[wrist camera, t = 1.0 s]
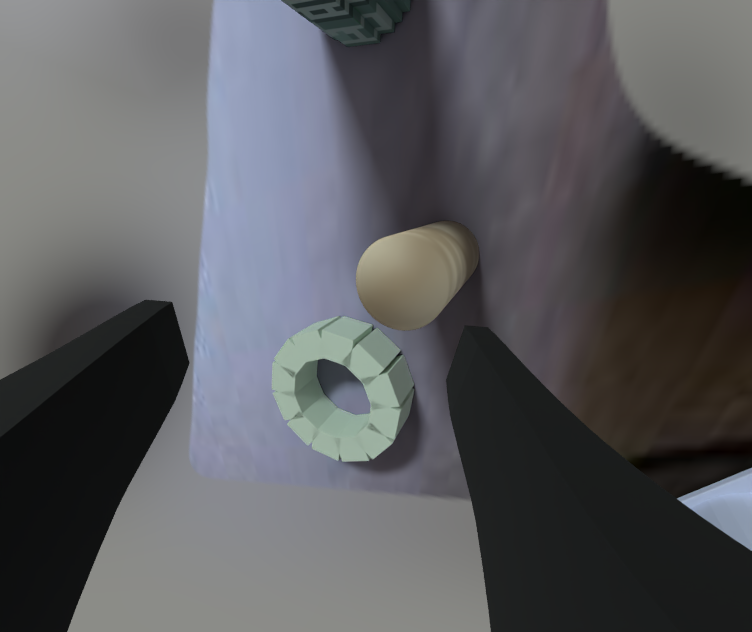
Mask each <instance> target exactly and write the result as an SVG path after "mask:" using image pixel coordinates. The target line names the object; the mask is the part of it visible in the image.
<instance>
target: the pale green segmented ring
mask: <svg viewBox="0 0 752 632" xmlns="http://www.w3.org/2000/svg"><path fill="white" fill-rule="evenodd" d="M372 326H373V325H371V324H368V323H365V322H362V321H358V320H355V319H352V318H349V317H345V316H343V317H342V318H340V316H338V317H334V318H331V319H327V320H323V321H320V322H316V323H314V324H312V325H311V326H309V327H307V328H305V329H304V330H302V331H300V332H298V333H297V334H295V335H293V336H292V337H290V338H289V339H288V340H287V341H286V342H285V344H284V345H283V347H282V348H281V349H280V351H279V352H278V354H277V355H276V356H275V358H274V359H275V360H276V361H274V362H273V368H272V389H273V390H275V392H274V393H273V395H274V397H275V400H276V402H277V404H278V407H279V409H280V411H281V414H282V416H283V418H284V420H290V419H291V420H290V421H289V422H288V424H287V425H288V426H289V427H290V428H291V429H292V430H293V431H294V432H295V433H296V434H297V435H298V436H299V437H300V438H301V439H302V440H303V441H304V442H305V443H306V444H307V445H309V444H310V443H311V442H312V449H314V450H316V451H318V452H320V453H322V454H325V455H327V456H329V457H331V458H333V459H335V460H338V461H339V459H340V458H341V459H342V462H350V461H369V460H370V459H371V458H372V459H374V458H375V457H377V456H378V455H379V454H380V453H381V452H383V451H384V450H385V449H386V448H388V447H389V446H390V445H391V444H392V443H393V442H394V440H395V438H396V437H397V435H398V433H399V432H400V430H401V428H402V427H403V425H404V423H405V421H406V420H407V418H408V416H409V414H410V409H411V404H412V399H413V395H414V390H415V389H413V388H412V387H413V386H414V382H413V380H412V377H411V374H410V371H409V368H408V365H407V363H406V360H405V357H404V355H400V356H396V355H397V354H398V353H399V352H400V351H401V350H400V349H399V348H398V347H397V346H396V345H395V344H394V343H393V342H392V341H391V340H390V339H388V338H387V337H386V336H385V335H384V334H383V333H382V332H381V331H380V330H379V329H378V328H376V329H375V330H373V331H372ZM323 358H325V359H328V360H330V361H333V362H336V363H339V364H341V365H344V366H346V367H347V368H348V369H349V370H350V371H351V372H352V373H353V374H354V375H355V376H356V377H357V378H358V379H359V380H360V381H361V382H362V383H363V385H364V388H365V391H366V393H367V396H368V398H369V401H370V404H371V409H370V414H361V415H354V414H352V413H349V412H347V411H344V410H342V409H339V408H337V407H336V406H335V405H334V404H333V403H332V402H331V401H330V400H329V398H328V397H327V396H326V395H325V394H324V393H323V390H322V388H321V386H320V383H319V381H318V378H317V365H318V359H323Z"/></svg>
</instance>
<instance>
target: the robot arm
mask: <svg viewBox="0 0 752 632" xmlns="http://www.w3.org/2000/svg"><path fill="white" fill-rule="evenodd" d="M188 366H189V360H188V356H187V353H186V349H185V346H184V342H183V339H182V335H181V331H180V328H179V324H178V321H177V317H176V314H175V310H174V307H173V303H172V302H165V301H154V300H144V301H142V302H140V303H138V304H136V305H134V306H132V307H130V308H129V309H127V310H125V311H123V312H122V313H120V314H118V315H116V316H114V317H113V318H111V319H109V320H107V321H106V322H104V323H102V324H100V325H99V326H97V327H95V328H94V329H92V330H90V331H88V332H87V333H85V334H83V335H81V336H80V337H78V338H76V339H74V340H72V341H71V342H69V343H67V344H65V345H64V346H62V347H60V348H59V349H57V350H55V351H53V352H51V353H50V354H48V355H46V356H44V357H42V358H40V359H38V360H37V361H35V362H33V363H31V364H29V365H27V366H25V367H24V368H22V369H20V370H18V371H16V372H14V373H12V374H10V375H8V376H7V377H5V378H3V379H1V380H0V632H67V631H68V628H69V625H70V622H71V620H72V617H73V614H74V612H75V609H76V606H77V604H78V601H79V599H80V596H81V594H82V591H83V589H84V586H85V584H86V581H87V579H88V576H89V574H90V571H91V569H92V566H93V564H94V561H95V559H96V556H97V554H98V552H99V549H100V547H101V544H102V542H103V540H104V538H105V535H106V533H107V531H108V528H109V526H110V524H111V521H112V519H113V517H114V514H115V512H116V510H117V508H118V506H119V504H120V502H121V500H122V497H123V496H124V494H125V492H126V489H127V487H128V485H129V484H130V482H131V480H132V478H133V477H134V475H135V473H136V471H137V469H138V468H139V466H140V464H141V462H142V460H143V458H144V457H145V455H146V453H147V451H148V449H149V448H150V446H151V444H152V442H153V440H154V439H155V437H156V435H157V433H158V431H159V430H160V428H161V426H162V424H163V422H164V420H165V418H166V416H167V414H168V413H169V411H170V409H171V407H172V405H173V404H174V402H175V400H176V397H177V395H178V392H179V389H180V387H181V385H182V382H183V379H184V376H185V374H186V371H187V368H188ZM446 383H447V393H448V402H449V409H450V416H451V421H452V425H453V429H454V433H455V437H456V441H457V445H458V449H459V453H460V457H461V461H462V465H463V469H464V473H465V477H466V481H467V485H468V489H469V492H470V496H471V501H472V505H473V510H474V515H475V520H476V526H477V532H478V539H479V545H480V552H481V558H482V565H483V572H484V579H485V587H486V595H487V602H488V609H489V617H490V627H491V632H752V468H750V469H748V470H745V471H743V472H740V473H738V474H735V475H733V476H731V477H728V478H726V479H723V480H721V481H718V482H716V483H714V484H711V485H709V486H706V487H704V488H701V489H699V490H697V491H694V492H692V493H689V494H687V495H684V496H682V497H679V498H677V499H676V498H675V497H674V496H672V495H671V494H670V493H668V492H667V491H666V490H664V489H663V488H661V487H660V486H659V485H657V484H656V483H655V482H654V481H652V480H651V479H650V478H648V477H647V476H646V475H644V474H643V473H642V472H641V471H639V470H638V469H637V468H635V467H634V466H633V465H632V464H631V463H629V462H628V461H627V460H626V459H625V458H623V457H622V456H621V455H620V454H618V453H617V452H616V451H615V450H614V449H612V448H611V447H610V446H609V445H608V444H606V443H605V442H604V441H603V440H602V439H600V438H599V437H598V436H597V435H596V434H595V433H594V432H592V431H591V430H590V429H589V428H588V427H587V426H586V425H585V424H584V423H582V422H581V421H580V420H579V419H578V418H577V417H576V416H575V415H574V414H573V413H572V412H571V411H570V410H568V409H567V408H566V407H565V406H564V405H563V404H562V403H561V402H560V401H559V400H558V399H557V398H556V397H555V396H554V395H553V394H552V393H551V392H550V391H549V390H548V389H547V388H546V387H545V386H544V385H543V384H542V383H541V382H540V381H539V380H538V379H537V378H536V377H535V376H534V375H533V374H532V373H531V372H530V371H529V370H528V369H527V368H526V367H525V365H524V364H523V363H522V362H521V361H520V360H519V359H518V358H517V357H516V356H515V355H514V354H513V353H512V352H511V351H510V350H509V348H508V347H507V346H506V345H505V344H504V343H503V342H502V341H501V340H500V339H499V338H498V337H497V336H496V335H495V334H494V333H493V332H492V331H491V330H490V329H489V328H488V327H475V326H465V327H464V330H463V333H462V336H461V339H460V342H459V345H458V347H457V350H456V353H455V356H454V359H453V362H452V365H451V368H450V371H449V374H448V376H447V379H446Z"/></svg>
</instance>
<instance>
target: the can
mask: <svg viewBox="0 0 752 632" xmlns="http://www.w3.org/2000/svg"><path fill="white" fill-rule="evenodd" d="M281 1H283V2H284V3H285V4H287V5H288V6H289V7H291V8H292V9H294V10H295V11H296V12H298V13H299V14H300V15H302V16H303V17H304V18H306V19H307V20H308V21H310V22H311V23H313V24H314V25H315V26H317V27H318V28H319V29H321V30H322V31H323V32H325V33H326V34H327V35H329V36H330V37H332V38H333V39H334V40H339V41H340V42H341V43H343V44H344V45H345V46H347V47H350V46H358V45H367V44H375V43H380V34H384V33H391V32H394V30H395V23H397V22H402V13H403V12H408V11H410V1H411V0H281Z"/></svg>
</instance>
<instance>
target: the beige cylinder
mask: <svg viewBox="0 0 752 632" xmlns="http://www.w3.org/2000/svg"><path fill="white" fill-rule="evenodd" d="M478 261H479V247H478V243H477V240H476V238H475V237H474V235H473V234H472V232H471V231H470V230H469V229H468V228H466V227H465V226H464V225H462V224H460V223H457V222H454V221H439V222H435V223H432V224H428V225H425V226H421V227H418V228H415V229H411V230H408V231H404V232H401V233H397V234H394V235H390V236H387V237H384V238H381V239H379V240H377V241H376V242H374V243H373V244H372V245H371V246H369V247H368V249H367V250H366V251H365V252H364V254H363V255H362V257H361V259H360V261H359V264H358V267H357V272H356V286H357V291H358V295H359V297H360V300H361V302H362V304H363V306H364V307H365V309H366V310H367V311H368V313H369V314H370V315H371V316H372V317H373V318H374V319H375V320H377V321H378V322H380V323H381V324H383V325H385V326H387V327H389V328H392V329H396V330H403V331H405V330H415V329H418V328H421V327H424V326H426V325H427V324H429V323H430V322H432V321H433V320H434V319H435V318H436V317H437V316H438V315H439V314H440V312H441V311H442V310H443V309H444V308H445V306H446V305H447V304H448V303H449V302H450V300H451V299H452V298H453V297H454V296H455V294H456V293H457V292H458V291H459V290H460V288H461V287H462V286H463V285H464V284H465V282H466V281H467V280H468V279H469V278H470V277H471V275H472V274H473V273H474V271H475V269H476V267H477V265H478Z"/></svg>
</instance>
